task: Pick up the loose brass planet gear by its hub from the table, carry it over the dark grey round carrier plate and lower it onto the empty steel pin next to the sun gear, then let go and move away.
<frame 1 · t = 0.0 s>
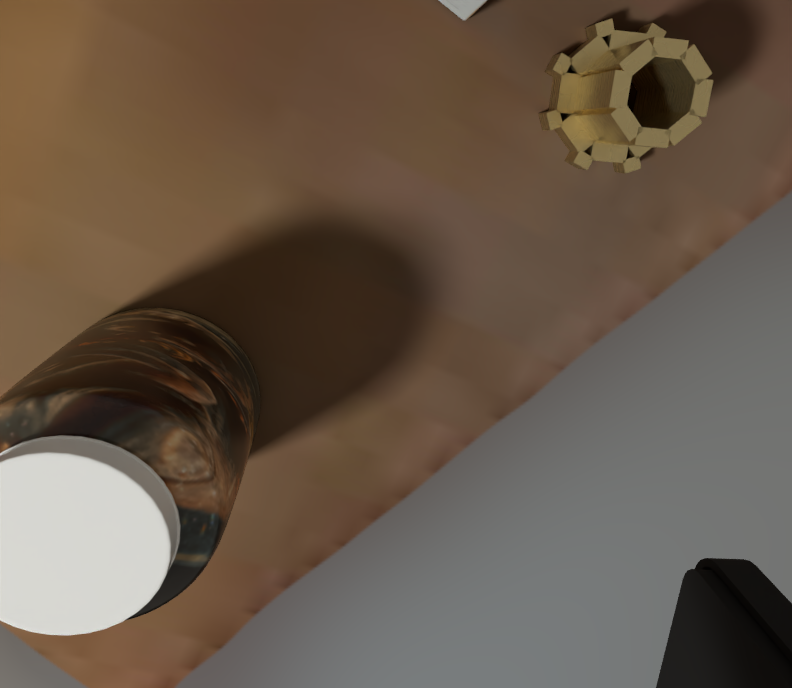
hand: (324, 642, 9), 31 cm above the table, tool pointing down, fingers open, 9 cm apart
jar: (160, 399, 41), on the table
planet gear: (608, 99, 37), on the table
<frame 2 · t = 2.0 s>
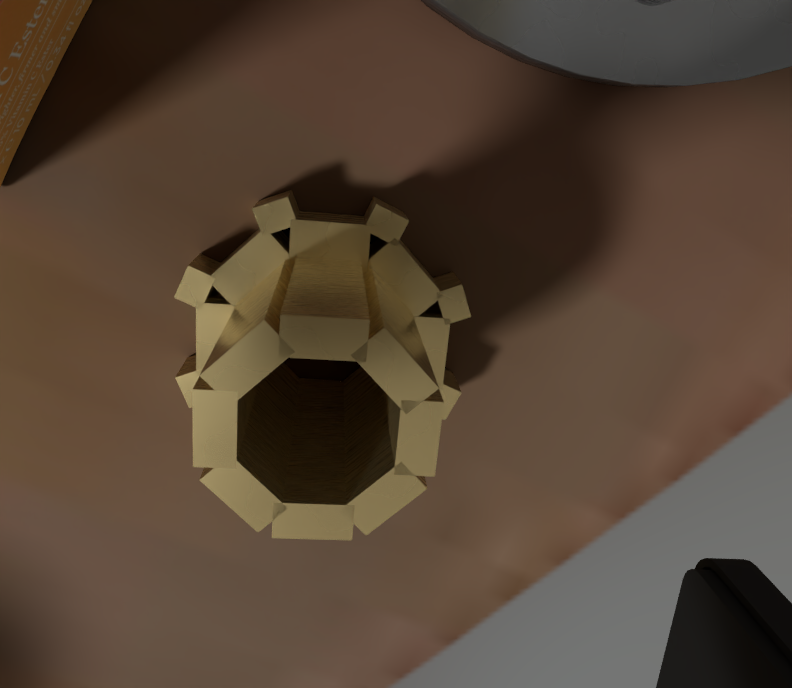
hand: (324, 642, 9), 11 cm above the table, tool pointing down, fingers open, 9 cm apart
planet gear: (324, 329, 19), on the table
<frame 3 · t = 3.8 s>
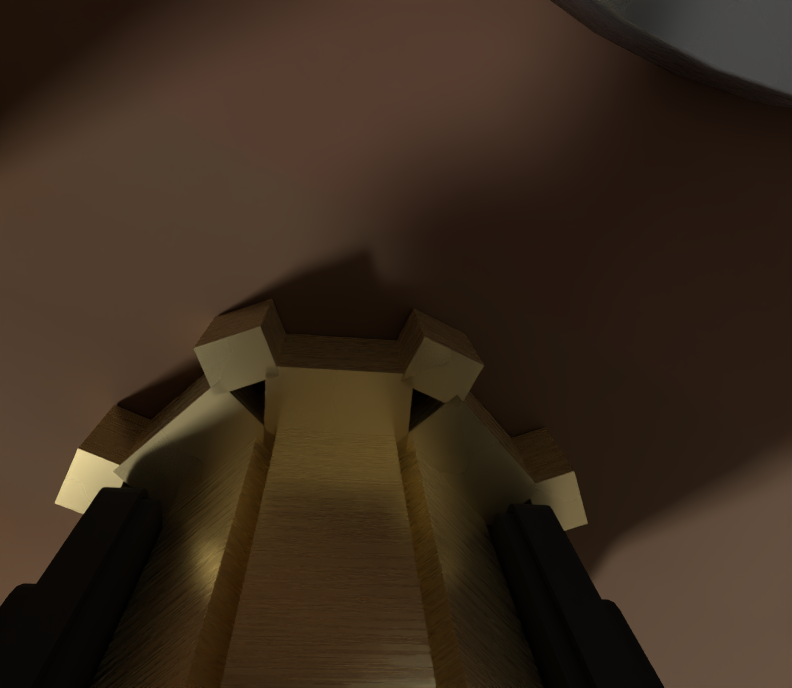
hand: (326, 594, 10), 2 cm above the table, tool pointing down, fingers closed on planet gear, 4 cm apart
planet gear: (328, 521, 11), on the table, touching gripper
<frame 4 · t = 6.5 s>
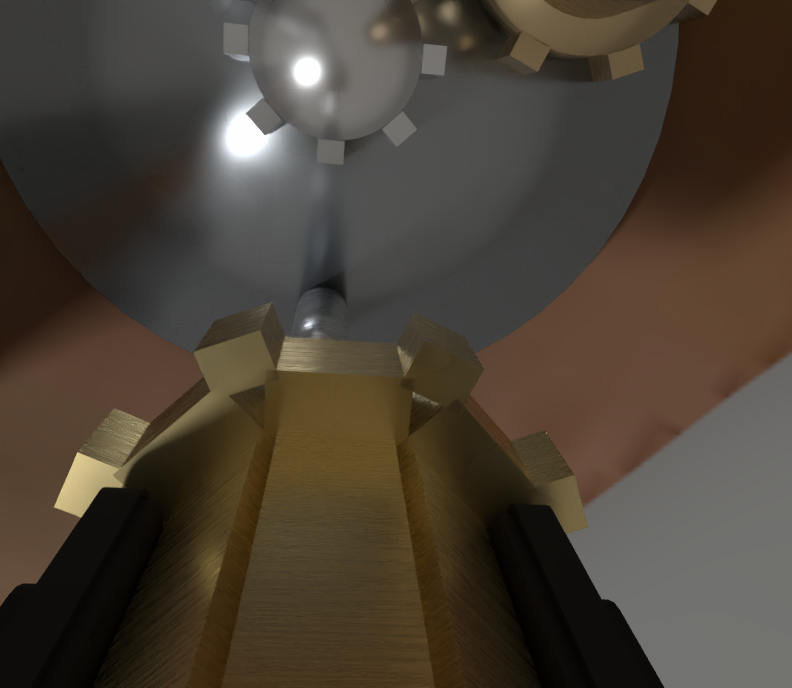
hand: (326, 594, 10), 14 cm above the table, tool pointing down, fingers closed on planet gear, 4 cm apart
carrier: (336, 59, 20), on the table
planet gear: (328, 524, 11), point 12 cm above the table, touching gripper
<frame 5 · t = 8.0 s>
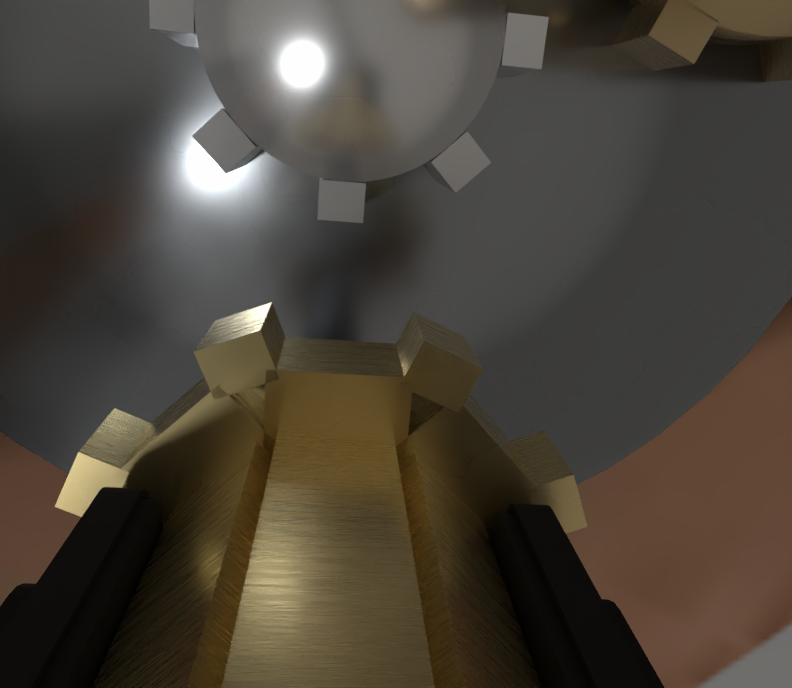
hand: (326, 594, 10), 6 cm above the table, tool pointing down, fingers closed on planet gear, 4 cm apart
carrier: (349, 48, 13), on the table
planet gear: (328, 524, 11), point 4 cm above the table, touching gripper
when the fingers open (5 cm above the table, at t = 9.0 s): planet gear drops 2 cm, resting on carrier.
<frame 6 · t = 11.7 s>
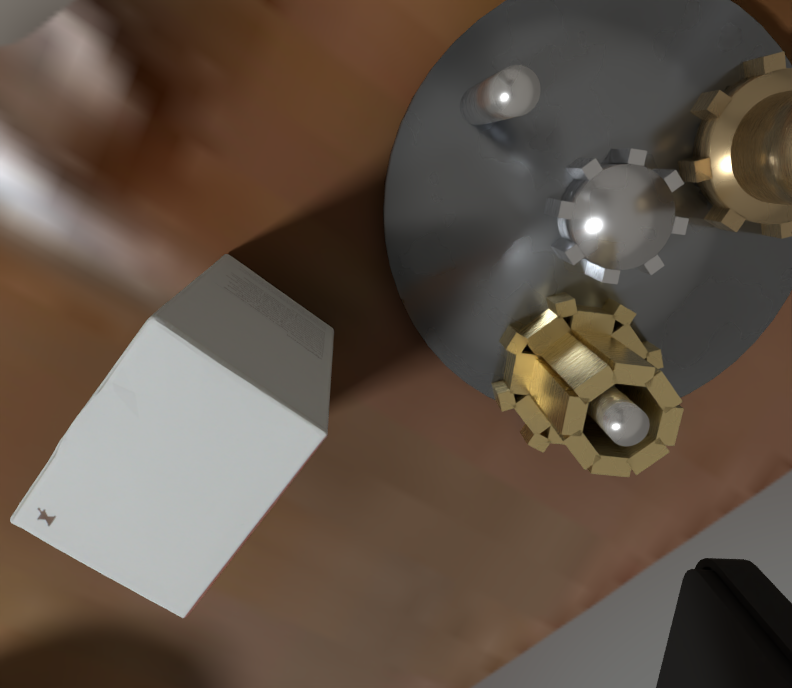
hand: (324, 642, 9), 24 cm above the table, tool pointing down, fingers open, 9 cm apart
carrier: (596, 211, 32), on the table
small box: (237, 354, 33), on the table
planet gear: (570, 370, 33), point 1 cm above the table, touching carrier
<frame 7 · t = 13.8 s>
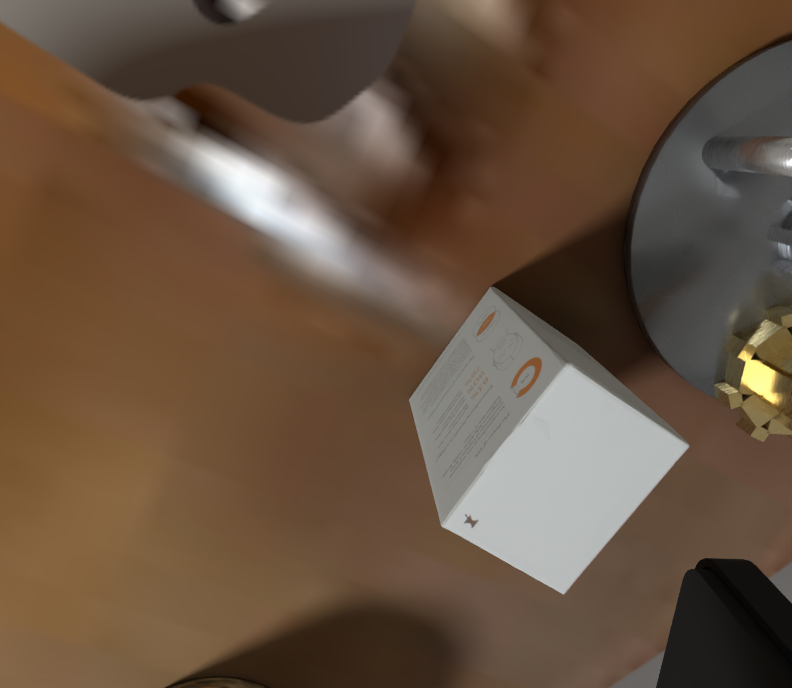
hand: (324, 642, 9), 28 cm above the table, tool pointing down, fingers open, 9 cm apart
small box: (492, 370, 38), on the table
planet gear: (781, 370, 38), point 1 cm above the table, touching carrier
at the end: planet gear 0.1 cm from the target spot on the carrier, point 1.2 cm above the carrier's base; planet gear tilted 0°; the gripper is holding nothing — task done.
